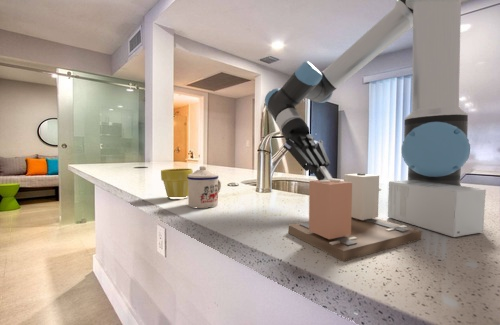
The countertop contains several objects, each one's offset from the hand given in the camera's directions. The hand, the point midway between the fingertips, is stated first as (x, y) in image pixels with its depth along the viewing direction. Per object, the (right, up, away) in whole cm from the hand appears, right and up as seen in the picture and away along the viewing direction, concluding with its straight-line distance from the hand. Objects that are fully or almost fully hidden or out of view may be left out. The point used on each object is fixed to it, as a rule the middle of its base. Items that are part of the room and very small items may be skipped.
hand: (332, 189), depth 62 cm
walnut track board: (-1, -8, -13) cm, 15 cm away
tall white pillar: (+4, -5, -7) cm, 9 cm away
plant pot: (-45, -6, +23) cm, 51 cm away
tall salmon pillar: (-6, -6, -18) cm, 20 cm away
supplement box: (+17, -2, 0) cm, 17 cm away
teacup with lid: (-33, -6, +14) cm, 37 cm away
